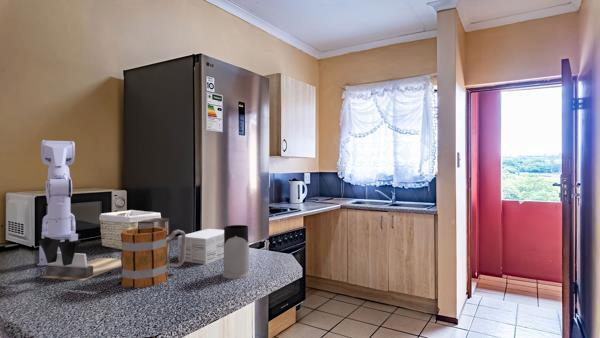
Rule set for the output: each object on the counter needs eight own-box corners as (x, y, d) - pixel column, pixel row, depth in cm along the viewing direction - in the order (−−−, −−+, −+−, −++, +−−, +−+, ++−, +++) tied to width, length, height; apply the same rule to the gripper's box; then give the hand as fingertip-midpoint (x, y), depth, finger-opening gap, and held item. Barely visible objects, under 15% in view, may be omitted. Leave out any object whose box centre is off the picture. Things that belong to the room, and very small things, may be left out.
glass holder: (221, 279, 106) (221, 229, 106) (224, 266, 120) (223, 222, 120) (250, 277, 107) (250, 228, 107) (250, 265, 121) (249, 221, 121)
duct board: (39, 279, 108) (39, 267, 108) (100, 259, 131) (100, 250, 131) (82, 282, 104) (82, 270, 104) (137, 261, 128) (137, 251, 128)
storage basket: (97, 246, 155) (97, 212, 155) (132, 240, 168) (132, 209, 168) (127, 253, 141) (126, 216, 141) (163, 245, 155) (162, 212, 155)
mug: (128, 291, 96) (127, 236, 96) (114, 280, 106) (113, 230, 106) (195, 276, 109) (195, 228, 109) (177, 267, 119) (177, 223, 119)
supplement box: (207, 251, 144) (207, 228, 144) (234, 254, 138) (233, 230, 138) (177, 261, 129) (177, 235, 129) (205, 264, 123) (205, 238, 123)
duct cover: (50, 265, 111) (48, 266, 110) (48, 251, 110) (46, 252, 109) (87, 267, 107) (85, 268, 107) (86, 253, 107) (83, 254, 106)
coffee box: (154, 262, 127) (153, 217, 127) (170, 262, 125) (169, 218, 125) (137, 269, 118) (137, 221, 118) (154, 270, 116) (154, 221, 116)
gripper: (87, 217, 107) (88, 262, 106) (58, 216, 113) (58, 258, 112) (63, 220, 100) (64, 268, 100) (34, 218, 106) (34, 263, 106)
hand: (59, 263), depth 106 cm, fingers open, 7 cm apart
